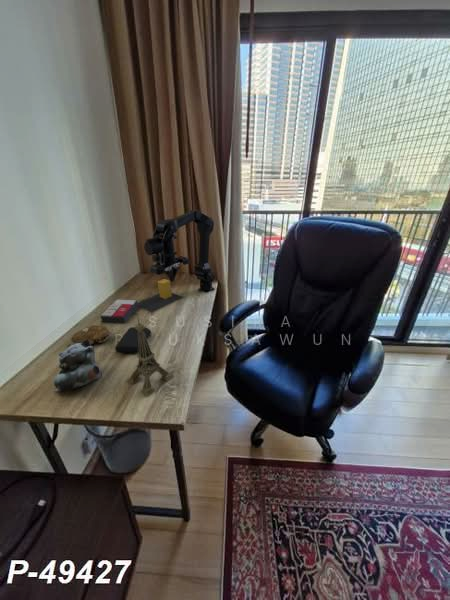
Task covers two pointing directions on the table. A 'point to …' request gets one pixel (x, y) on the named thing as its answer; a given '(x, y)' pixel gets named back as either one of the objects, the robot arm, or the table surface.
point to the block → (164, 288)
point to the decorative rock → (91, 334)
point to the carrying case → (131, 340)
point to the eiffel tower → (146, 363)
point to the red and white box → (119, 311)
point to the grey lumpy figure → (76, 367)
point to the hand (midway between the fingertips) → (172, 281)
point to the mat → (157, 302)
